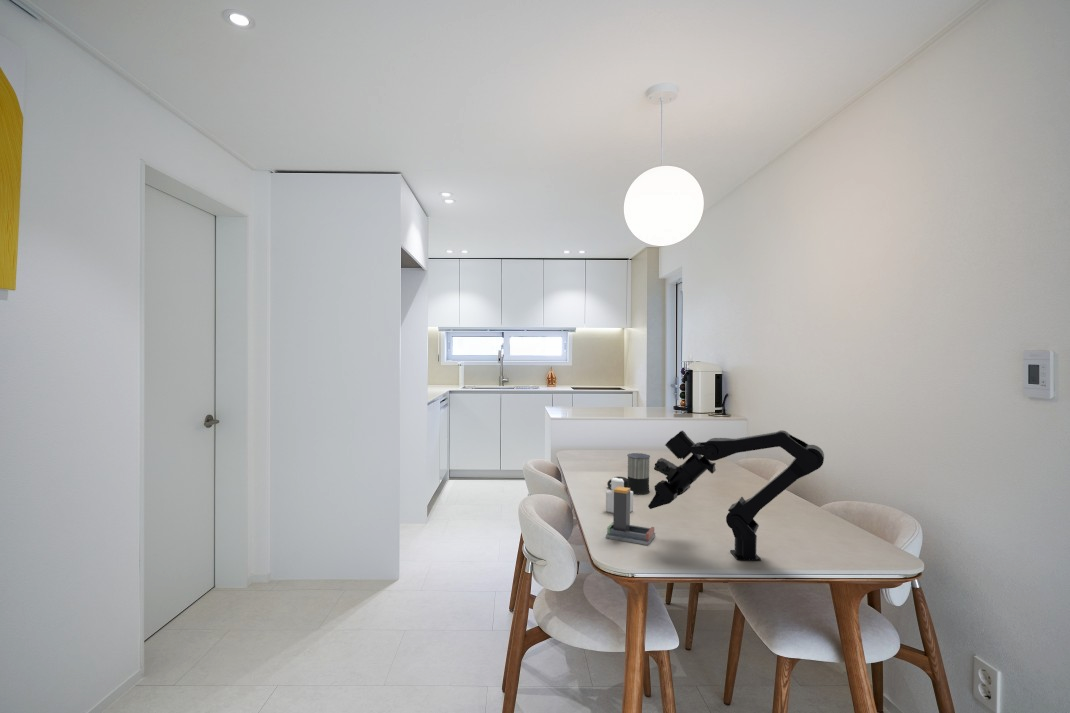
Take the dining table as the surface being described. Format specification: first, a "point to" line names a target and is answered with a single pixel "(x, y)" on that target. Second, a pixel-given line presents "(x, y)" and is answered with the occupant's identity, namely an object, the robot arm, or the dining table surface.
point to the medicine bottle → (610, 494)
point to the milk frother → (637, 473)
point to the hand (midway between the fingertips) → (654, 504)
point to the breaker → (621, 509)
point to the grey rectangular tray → (632, 534)
